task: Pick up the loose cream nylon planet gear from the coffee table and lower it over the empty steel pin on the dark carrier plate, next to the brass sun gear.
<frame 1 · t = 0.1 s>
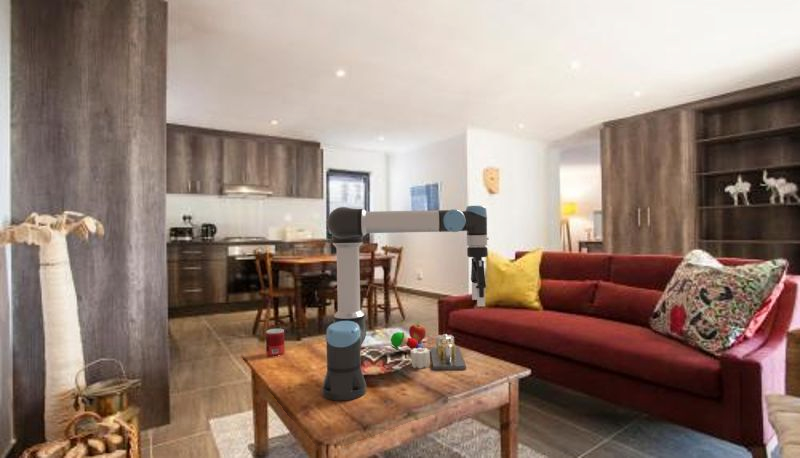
hand: (478, 302, 153), 28 cm above the table, fingers open, 13 cm apart
planet gear: (420, 364, 167), on the table
carrier: (447, 359, 173), on the table
apple: (417, 341, 202), on the table
toy: (406, 352, 185), on the table
canned food: (275, 354, 185), on the table
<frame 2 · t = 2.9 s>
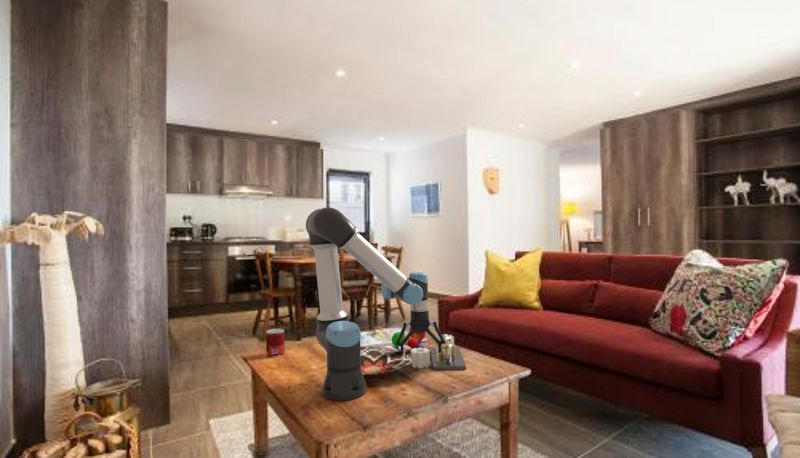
hand: (421, 361, 167), 2 cm above the table, fingers open, 13 cm apart
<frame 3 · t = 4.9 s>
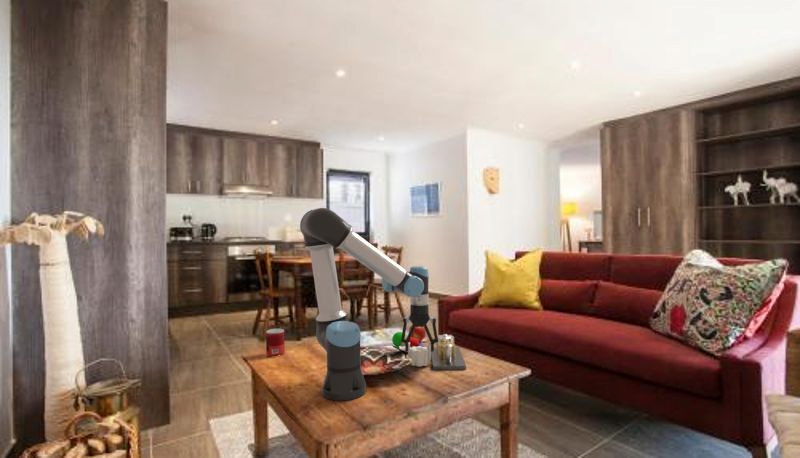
hand: (419, 359, 167), 3 cm above the table, fingers closed on planet gear, 8 cm apart
planet gear: (419, 363, 167), point 1 cm above the table, touching gripper
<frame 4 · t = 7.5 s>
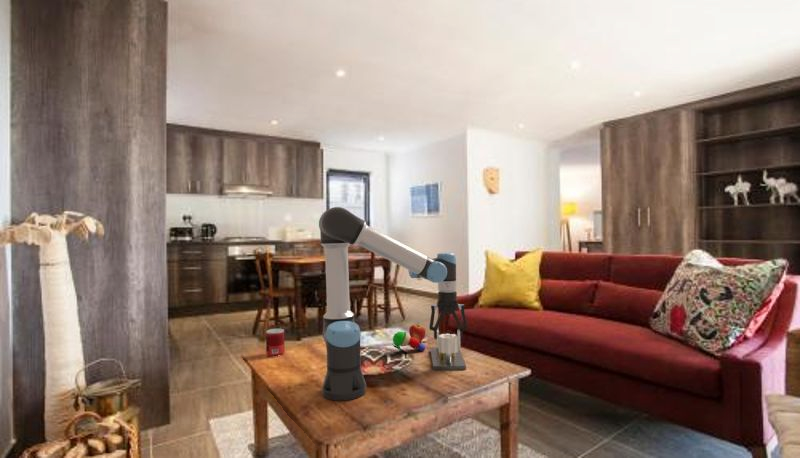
hand: (448, 346, 165), 8 cm above the table, fingers closed on planet gear, 8 cm apart
planet gear: (448, 350, 165), point 6 cm above the table, touching gripper
when the fingers open (2 cm above the table, at t = 9.7 s): planet gear stays where it is, resting on carrier.
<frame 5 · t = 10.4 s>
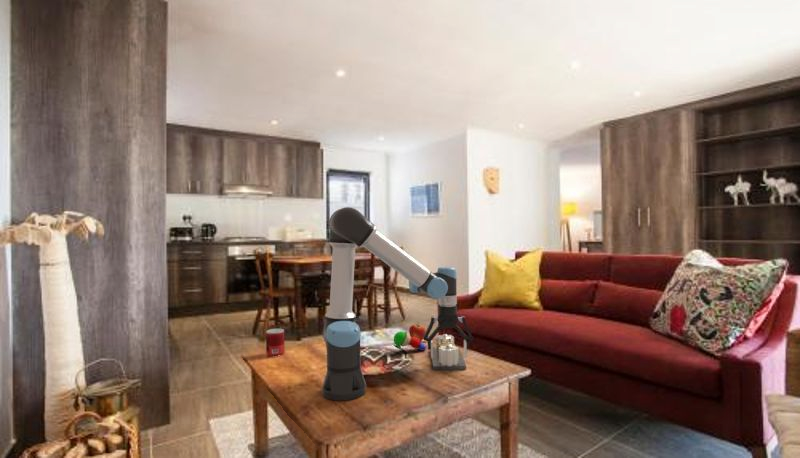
hand: (448, 357, 165), 4 cm above the table, fingers open, 13 cm apart
planet gear: (448, 362, 165), point 1 cm above the table, touching carrier
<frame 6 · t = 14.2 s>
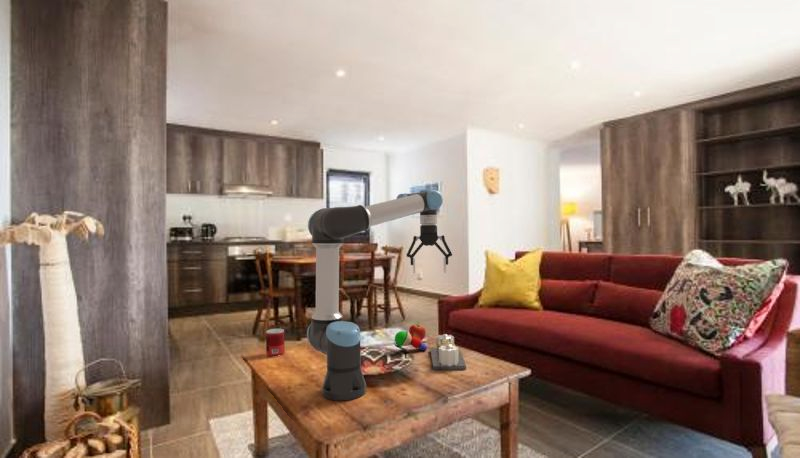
hand: (429, 272, 180), 37 cm above the table, fingers open, 13 cm apart
at the end: planet gear 0.1 cm from the target spot on the carrier, point 1.5 cm above the carrier's base; planet gear tilted 0°; the gripper is holding nothing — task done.
